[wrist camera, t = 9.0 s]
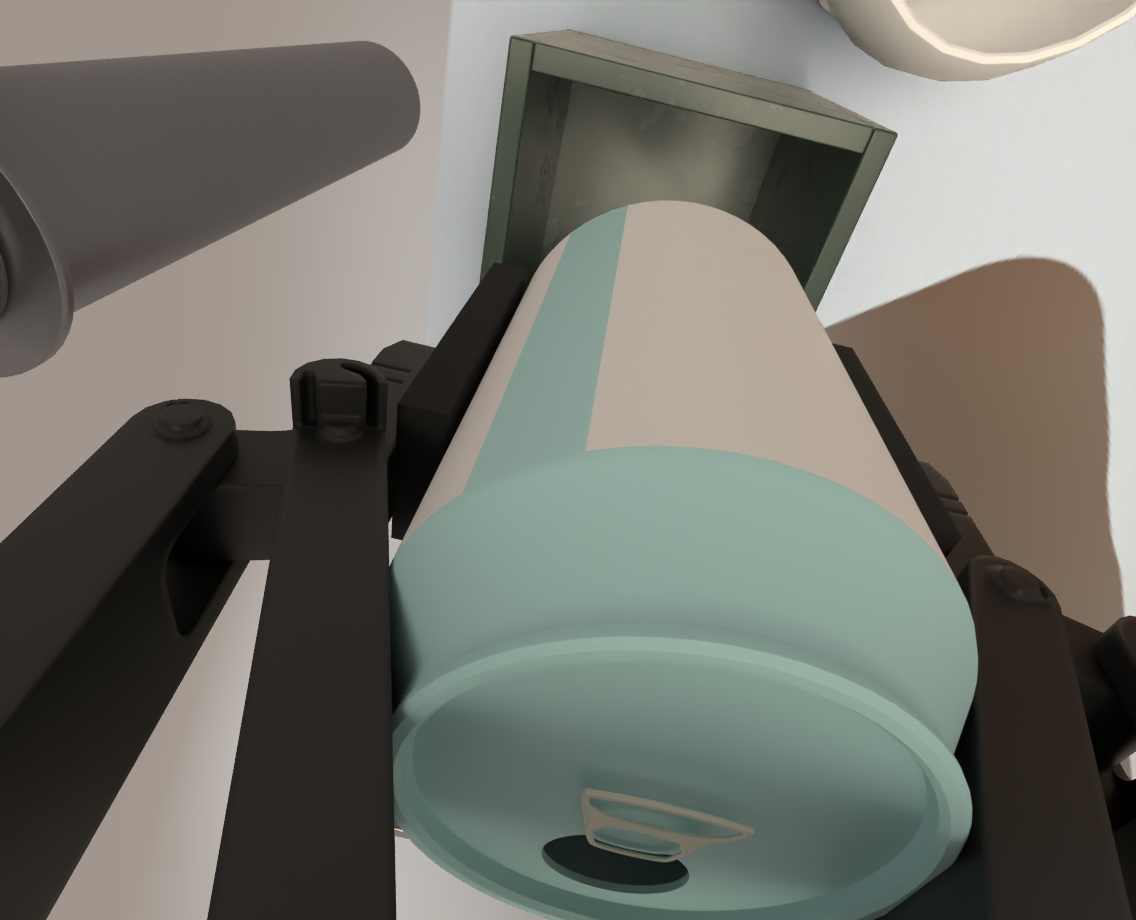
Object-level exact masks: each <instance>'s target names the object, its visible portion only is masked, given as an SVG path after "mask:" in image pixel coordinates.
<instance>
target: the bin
mask: <svg viewBox="0 0 1136 920" xmlns="http://www.w3.org/2000/svg"><path fill="white" fill-rule="evenodd" d="M897 135H898V134H897V133H896V132H894V131H892V130H890V129H888V128H885V127H883V126H881V125H879V124H877V123H875V122H873V121H871V120H869V119H867V118H865V117H863V116H861V115H859V114H857V113H854V112H852V111H850V110H848V109H846V108H844V107H842V106H840V105H838V104H836V103H834V102H832V101H830V100H828V99H825V98H823V97H821V96H819V95H817V94H815V93H813V92H811V91H809V90H806V89H802V88H798V87H794V86H790V85H786V84H782V83H778V82H774V81H770V80H766V79H762V78H758V77H754V76H751V75H747V74H743V73H739V72H735V71H731V70H727V69H723V68H719V67H715V66H711V65H707V64H703V63H699V62H695V61H691V60H687V59H683V58H680V57H676V56H672V55H668V54H664V53H660V52H656V51H652V50H648V49H644V48H640V47H636V46H632V45H628V44H624V43H620V42H616V41H612V40H609V39H605V38H601V37H597V36H593V35H589V34H585V33H581V32H577V31H573V30H569V29H568V30H561V31H552V32H543V33H534V34H525V35H516V36H511V37H510V42H509V50H508V58H507V66H506V74H505V82H504V90H503V98H502V106H501V114H500V122H499V130H498V138H497V146H496V154H495V162H494V170H493V178H492V186H491V194H490V202H489V210H488V218H487V227H486V235H485V243H484V251H483V259H482V267H481V275H480V282H481V281H482V279H483V278H484V276H485V275H486V273H487V272H488V270H489V269H490V267H491V266H492V265H493V263H494V262H496V263H500V264H504V265H509V266H513V267H517V268H521V269H525V270H526V274H525V280H524V287H523V293H522V298H523V296H524V294H525V292H526V290H527V288H528V286H529V284H530V281H531V279H532V277H533V276H534V274H535V272H536V271H537V269H538V268H539V266H540V264H541V263H542V262H543V261H544V259H545V258H546V257H547V255H548V254H549V253H550V252H551V251H552V250H553V249H554V248H555V247H556V246H557V245H558V244H559V243H560V242H561V241H562V240H563V239H564V238H565V237H567V236H568V235H569V234H570V233H571V232H573V231H574V230H576V229H577V228H579V227H580V226H581V225H583V224H584V223H586V222H588V221H590V220H592V219H594V218H595V217H597V216H600V215H602V214H604V213H607V212H609V211H611V210H614V209H617V208H621V207H624V206H627V205H632V204H637V203H642V202H650V201H684V202H693V203H697V204H702V205H706V206H710V207H713V208H716V209H719V210H722V211H725V212H727V213H729V214H731V215H733V216H736V217H738V218H740V219H741V220H743V221H745V222H746V223H748V224H750V225H751V226H753V227H754V228H755V229H757V230H758V231H759V232H761V233H762V234H763V235H764V236H765V237H767V238H768V239H769V240H770V241H771V242H772V243H773V244H774V245H775V246H776V247H777V249H778V250H779V251H780V252H781V253H782V255H783V256H784V257H785V259H786V260H787V262H788V263H789V265H790V266H791V268H792V269H793V271H794V273H795V275H796V277H797V279H798V281H799V283H800V284H801V286H802V288H803V290H804V292H805V294H806V296H807V298H808V300H809V301H810V303H811V305H812V307H813V309H814V311H815V312H816V310H817V308H818V306H819V304H820V302H821V299H822V297H823V295H824V293H825V291H826V289H827V286H828V284H829V282H830V280H831V278H832V276H833V274H834V271H835V269H836V267H837V265H838V263H839V261H840V259H841V256H842V254H843V252H844V250H845V248H846V246H847V243H848V241H849V239H850V237H851V235H852V233H853V231H854V228H855V226H856V224H857V222H858V220H859V218H860V216H861V213H862V211H863V209H864V207H865V205H866V203H867V201H868V198H869V196H870V194H871V192H872V190H873V188H874V185H875V183H876V181H877V179H878V177H879V175H880V173H881V170H882V168H883V166H884V164H885V162H886V160H887V158H888V155H889V153H890V151H891V149H892V147H893V145H894V142H895V140H896V138H897ZM479 284H480V283H479ZM521 300H522V299H521Z"/></svg>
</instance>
